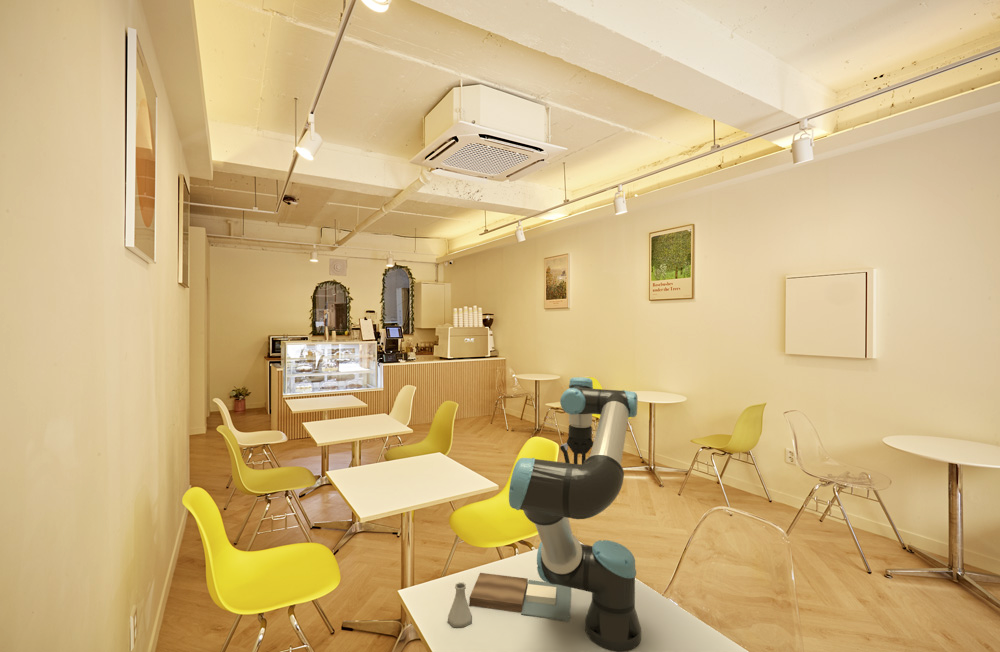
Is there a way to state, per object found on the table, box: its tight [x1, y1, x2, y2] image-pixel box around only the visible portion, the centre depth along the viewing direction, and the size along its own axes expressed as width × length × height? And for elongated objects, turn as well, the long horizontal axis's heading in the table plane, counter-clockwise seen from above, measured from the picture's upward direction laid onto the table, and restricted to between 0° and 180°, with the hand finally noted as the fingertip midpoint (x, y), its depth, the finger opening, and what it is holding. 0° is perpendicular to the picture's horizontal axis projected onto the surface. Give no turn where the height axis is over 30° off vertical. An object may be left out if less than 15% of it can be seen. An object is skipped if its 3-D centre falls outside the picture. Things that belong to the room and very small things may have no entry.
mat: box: [520, 579, 572, 622], centre depth 140 cm, size 18×14×1 cm
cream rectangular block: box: [526, 584, 556, 605], centre depth 140 cm, size 6×9×2 cm, turn 80°
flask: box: [447, 582, 473, 628], centre depth 129 cm, size 7×7×10 cm
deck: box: [468, 572, 529, 614], centre depth 142 cm, size 14×16×2 cm
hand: (578, 497), depth 147 cm, fingers closed
